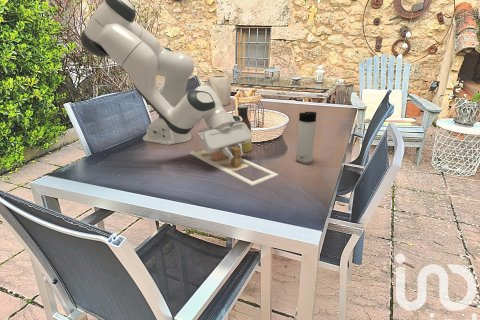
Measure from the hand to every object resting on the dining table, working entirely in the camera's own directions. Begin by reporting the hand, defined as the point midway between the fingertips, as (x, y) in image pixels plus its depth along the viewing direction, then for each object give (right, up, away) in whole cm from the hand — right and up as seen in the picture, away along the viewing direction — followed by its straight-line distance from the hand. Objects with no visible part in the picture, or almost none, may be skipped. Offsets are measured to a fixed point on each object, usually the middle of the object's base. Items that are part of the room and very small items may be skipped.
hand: (237, 157), depth 117 cm
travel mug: (+26, -2, +10) cm, 28 cm away
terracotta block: (-8, 0, +10) cm, 12 cm away
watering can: (-13, +35, +99) cm, 106 cm away
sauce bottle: (+3, +2, +18) cm, 18 cm away
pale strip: (-7, -2, +10) cm, 12 cm away
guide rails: (-2, -4, +5) cm, 7 cm away
